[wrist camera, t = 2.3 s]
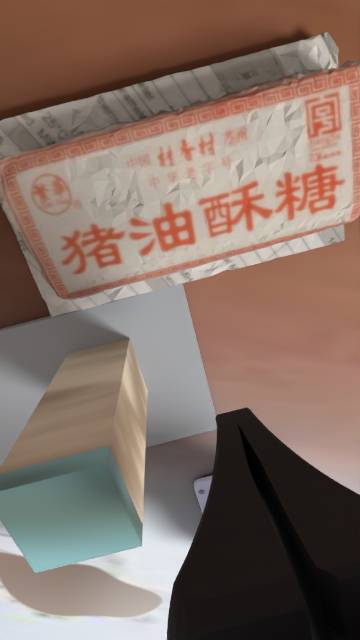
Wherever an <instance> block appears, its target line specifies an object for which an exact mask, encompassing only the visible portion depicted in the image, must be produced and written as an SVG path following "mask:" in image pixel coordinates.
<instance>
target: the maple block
mask: <svg viewBox="0 0 360 640" xmlns="http://www.w3.org/2000/svg"><path fill="white" fill-rule="evenodd" d="M147 395H148V391H147V388H146V385H145V382H144V379H143V376H142V373H141V370H140V367H139V364H138V361H137V358H136V355H135V352H134V349H133V346H132V343H131V340H130V338H128V339H124V340H120V341H116V342H112V343H109V344H105V345H101V346H97V347H93V348H89V349H86V350H82V351H78V352H74V353H70V354H67V356H66V358H65V359H64V361H63V363H62V364H61V366H60V368H59V369H58V371H57V373H56V375H55V376H54V378H53V380H52V381H51V383H50V385H49V386H48V388H47V390H46V391H45V393H44V395H43V396H42V398H41V400H40V402H39V403H38V405H37V407H36V408H35V410H34V412H33V413H32V415H31V417H30V418H29V420H28V422H27V423H26V425H25V427H24V429H23V430H22V432H21V434H20V435H19V437H18V439H17V440H16V442H15V444H14V445H13V447H12V449H11V450H10V452H9V454H8V456H7V457H6V459H5V461H4V462H3V464H2V466H1V467H0V520H1V522H2V523H3V525H4V526H5V528H6V529H7V531H8V533H9V534H10V536H11V537H12V539H13V540H14V542H15V543H16V545H17V546H18V548H19V549H20V551H21V552H22V554H23V555H24V557H25V558H26V560H27V561H28V563H29V564H30V566H31V567H32V569H33V570H34V572H35V573H37V572H41V571H45V570H49V569H53V568H57V567H61V566H65V565H69V564H73V563H77V562H81V561H85V560H89V559H93V558H97V557H101V556H105V555H109V554H112V553H116V552H120V551H124V550H128V549H132V548H136V547H140V546H142V528H143V501H144V475H145V448H146V421H147Z"/></svg>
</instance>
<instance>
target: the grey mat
mask: <svg viewBox="0 0 360 640" xmlns="http://www.w3.org/2000/svg"><path fill="white" fill-rule="evenodd" d="M128 338H130V340H131V343H132V346H133V349H134V352H135V355H136V358H137V361H138V364H139V367H140V370H141V373H142V376H143V379H144V382H145V385H146V388H147V391H148V395H147V421H146V448H147V447H151V446H154V445H158V444H162V443H166V442H170V441H174V440H178V439H182V438H186V437H189V436H193V435H197V434H201V433H205V432H209V431H213V430H217V425H216V419H215V418H216V414H215V410H214V406H213V402H212V398H211V394H210V391H209V387H208V383H207V379H206V375H205V371H204V367H203V363H202V359H201V355H200V351H199V347H198V343H197V339H196V335H195V331H194V327H193V323H192V319H191V315H190V311H189V307H188V303H187V299H186V295H185V291H184V287H183V283H181V284H177V285H174V286H170V287H166V288H162V289H159V290H155V291H151V292H147V293H143V294H139V295H135V296H131V297H127V298H123V299H119V300H115V301H111V302H107V303H105V304H101V305H98V306H94V307H91V308H87V309H83V310H77V311H73V312H69V313H65V314H61V315H57V316H54V317H51V316H47V317H43V318H40V319H36V320H32V321H28V322H24V323H21V324H17V325H13V326H9V327H5V328H2V329H0V467H1V466H2V464H3V462H4V461H5V459H6V457H7V456H8V454H9V452H10V450H11V449H12V447H13V445H14V444H15V442H16V440H17V439H18V437H19V435H20V434H21V432H22V430H23V429H24V427H25V425H26V423H27V422H28V420H29V418H30V417H31V415H32V413H33V412H34V410H35V408H36V407H37V405H38V403H39V402H40V400H41V398H42V396H43V395H44V393H45V391H46V390H47V388H48V386H49V385H50V383H51V381H52V380H53V378H54V376H55V375H56V373H57V371H58V369H59V368H60V366H61V364H62V363H63V361H64V359H65V358H66V356H67V354H70V353H74V352H78V351H82V350H86V349H89V348H93V347H97V346H101V345H105V344H109V343H112V342H116V341H120V340H124V339H128Z"/></svg>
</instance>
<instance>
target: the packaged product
mask: <svg viewBox="0 0 360 640" xmlns="http://www.w3.org/2000/svg"><path fill="white" fill-rule="evenodd" d="M338 52H339V49H338V47H337V46H336V44H335V42H334V41H333V39H332V38H331V36H330V35H329V33H328V32H326V33H323V34H320V35H317V36H314V37H311V38H309V39H306V40H300V41H297V42H294V43H290V44H286V45H282V46H278V47H274V48H270V49H267V50H264V51H260V52H257V53H253V54H250V55H246V56H242V57H238V58H234V59H230V60H227V61H224V62H221V63H214V64H211V65H209V66H205V67H200V68H197V69H193V70H190V71H184V72H179V73H175V74H171V75H167V76H164V77H161V78H158V79H155V80H152V81H147V82H142V83H139V84H135V85H132V86H129V87H125V88H121V89H118V90H115V91H110V92H106V93H102V94H98V95H95V96H92V97H89V98H86V99H81V100H77V101H72V102H68V103H64V104H60V105H56V106H52V107H48V108H45V109H42V110H38V111H34V112H29V113H25V114H22V115H19V116H16V117H11V118H6V119H3V120H1V121H0V204H1V206H2V209H3V210H4V212H5V214H6V216H7V218H8V220H9V222H10V224H11V226H12V228H13V230H14V233H15V235H16V238H17V240H18V243H19V245H20V248H21V250H22V252H23V254H24V256H25V259H26V261H27V264H28V266H29V268H30V271H31V273H32V275H33V278H34V280H35V282H36V284H37V286H38V288H39V291H40V293H41V296H42V298H43V299H44V300H45V301H46V304H47V306H48V309H49V312H50V315H51V317H54V316H57V315H61V314H65V313H69V312H73V311H77V310H83V309H87V308H91V307H94V306H98V305H101V304H105V303H107V302H111V301H115V300H119V299H123V298H127V297H131V296H135V295H139V294H143V293H147V292H151V291H155V290H159V289H162V288H166V287H170V286H174V285H177V284H181V283H185V282H189V281H194V280H198V279H201V278H205V277H209V276H212V275H215V274H217V273H219V272H222V271H224V270H226V269H229V270H234V269H238V268H241V267H245V266H249V265H254V264H258V263H261V262H265V261H268V260H271V259H274V258H277V257H282V256H287V255H291V254H295V253H299V252H303V251H307V250H310V249H314V248H318V247H322V246H327V245H330V244H333V243H337V242H340V241H343V240H345V237H344V224H345V223H349V222H351V221H353V220H355V219H356V218H357V217H358V216H359V215H360V60H359V61H346V62H345V63H344V64H343V65H342V66H341V67H338Z"/></svg>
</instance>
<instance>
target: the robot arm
mask: <svg viewBox="0 0 360 640" xmlns="http://www.w3.org/2000/svg"><path fill="white" fill-rule="evenodd" d="M215 419H216V425H217V445H216V456H215V463H214V469H213V475H212V476H208V477H204V478H200V479H197V480H196V481H195V482H194V489H195V492H196V496H197V499H198V502H199V505H200V508H201V511H202V514H203V515H202V518H201V521H200V524H199V526H198V529H197V532H196V534H195V537H194V539H193V542H192V544H191V547H190V549H189V552H188V554H187V556H186V558H185V561H184V563H183V565H182V567H181V569H180V571H179V573H178V575H177V577H176V580H175V582H174V584H173V589H172V595H171V601H170V608H169V615H168V629H167V640H360V495H359V494H357V493H355V492H354V491H352V490H350V489H348V488H347V487H345V486H343V485H341V484H339V483H338V482H336V481H334V480H333V479H331V478H330V477H328V476H327V475H325V474H323V473H322V472H320V471H319V470H318V469H316V468H315V467H313V466H312V465H310V464H309V463H308V462H306V461H305V460H304V459H302V458H301V457H300V456H298V455H297V454H296V453H295V452H293V451H292V450H291V449H290V448H288V447H287V446H286V445H285V444H284V443H283V442H281V441H280V440H279V439H278V438H277V437H276V436H275V435H274V434H273V433H272V432H270V431H269V430H268V429H267V428H266V427H265V426H264V425H263V424H262V423H261V422H260V420H259V419H258V418H257V417H256V416H255V415H254V414H253V413H252V411H251V410H250V409H249V408H243V409H239V410H235V411H231V412H227V413H223V414H219V415H217V416H216V418H215ZM201 489H203V490H201Z"/></svg>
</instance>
